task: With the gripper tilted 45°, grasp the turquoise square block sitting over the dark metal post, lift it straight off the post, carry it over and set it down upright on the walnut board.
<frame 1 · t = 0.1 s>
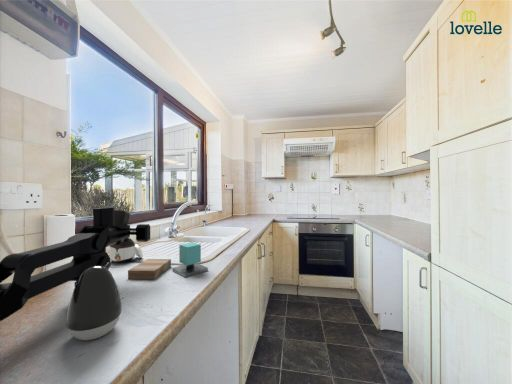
hand: (137, 229, 93), 17 cm above the countertop, tool horizontal, fingers open, 9 cm apart
turquoise square block: (190, 262, 91), point 3 cm above the countertop, touching post stand
dark grey egg shape: (96, 333, 52), on the countertop
spread jar: (127, 260, 106), on the countertop
board: (151, 272, 90), on the countertop
post stand: (190, 270, 91), on the countertop
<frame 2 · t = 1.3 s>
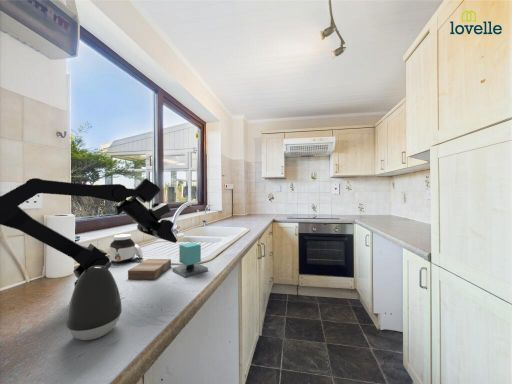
hand: (170, 240, 86), 14 cm above the countertop, tool tilted 45°, fingers open, 9 cm apart
nothing on the countertop moved.
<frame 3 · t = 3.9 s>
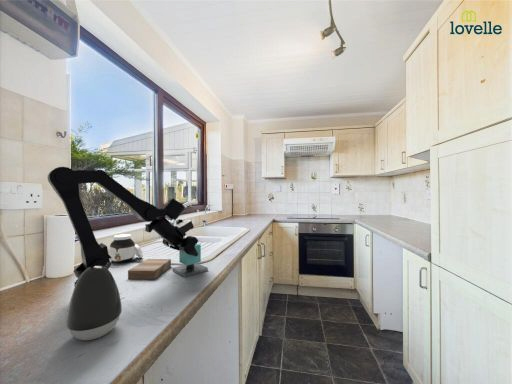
hand: (193, 253, 92), 7 cm above the countertop, tool tilted 45°, fingers closed on turquoise square block, 6 cm apart
turquoise square block: (190, 262, 91), point 4 cm above the countertop, touching gripper, post stand
everything else where it was.
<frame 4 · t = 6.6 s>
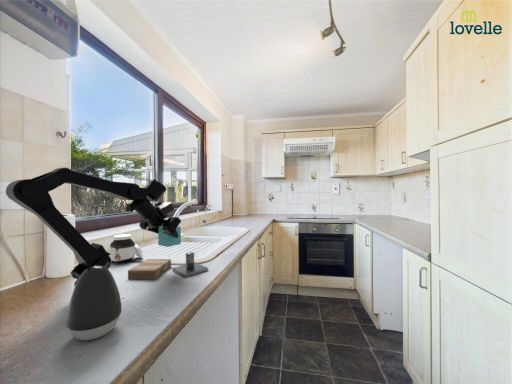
hand: (172, 236, 93), 14 cm above the countertop, tool tilted 45°, fingers closed on turquoise square block, 6 cm apart
turquoise square block: (169, 244, 91), point 11 cm above the countertop, touching gripper
everything else where it was.
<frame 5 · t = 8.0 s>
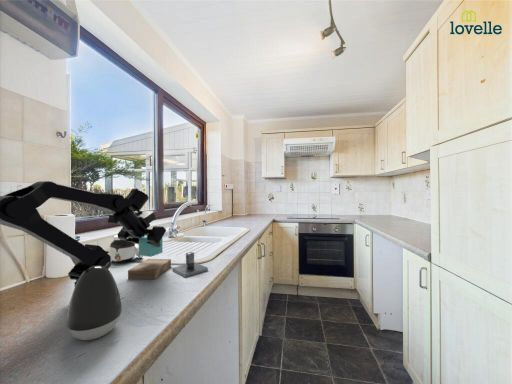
hand: (153, 245, 91), 10 cm above the countertop, tool tilted 45°, fingers closed on turquoise square block, 6 cm apart
turquoise square block: (150, 253, 90), point 7 cm above the countertop, touching gripper
everything else where it was.
when the fingers open (7 cm above the countertop, at t = 9.1 s): turquoise square block drops 1 cm, resting on board.
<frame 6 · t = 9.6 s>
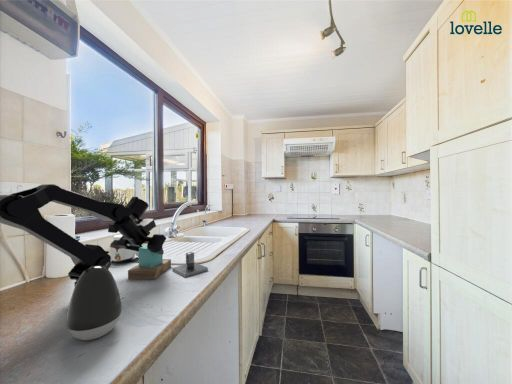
hand: (153, 252, 91), 7 cm above the countertop, tool tilted 45°, fingers open, 9 cm apart
turquoise square block: (151, 264, 90), point 3 cm above the countertop, touching board
everything else where it was.
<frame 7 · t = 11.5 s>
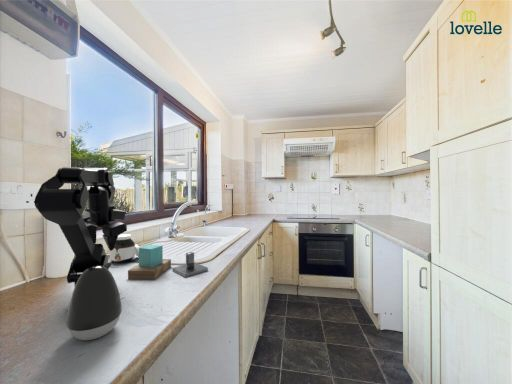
hand: (102, 247, 81), 12 cm above the countertop, tool pointing down, fingers open, 9 cm apart
nothing on the countertop moved.
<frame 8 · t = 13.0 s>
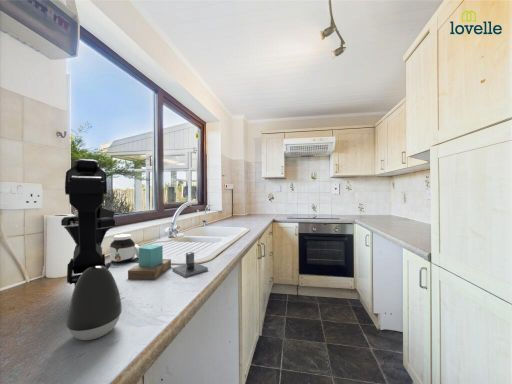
hand: (88, 247, 78), 13 cm above the countertop, tool pointing down, fingers open, 9 cm apart
nothing on the countertop moved.
at the end: turquoise square block inside the target area on the board (0.0 cm from its centre), point 3.0 cm above the board's base; turquoise square block tilted 0°; the gripper is holding nothing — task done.
